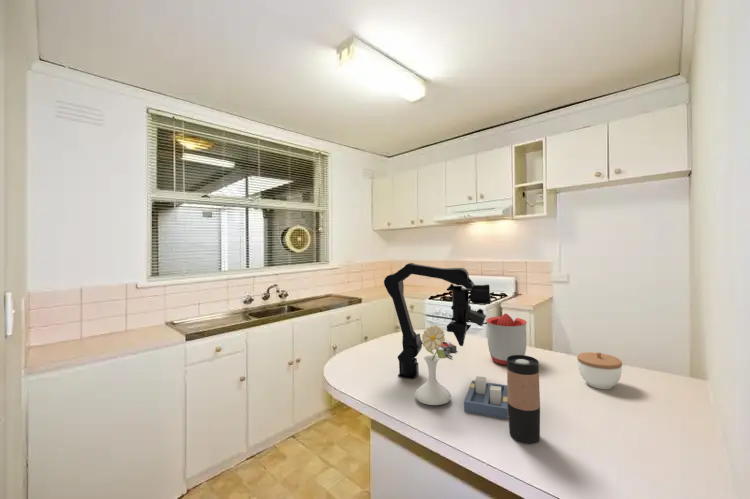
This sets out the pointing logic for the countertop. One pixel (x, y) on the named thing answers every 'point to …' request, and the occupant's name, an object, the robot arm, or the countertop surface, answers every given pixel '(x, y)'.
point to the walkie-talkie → (447, 348)
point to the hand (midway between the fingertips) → (461, 345)
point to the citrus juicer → (506, 337)
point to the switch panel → (486, 402)
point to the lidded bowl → (599, 369)
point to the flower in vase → (433, 369)
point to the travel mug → (523, 398)
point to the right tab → (495, 395)
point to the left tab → (480, 385)
